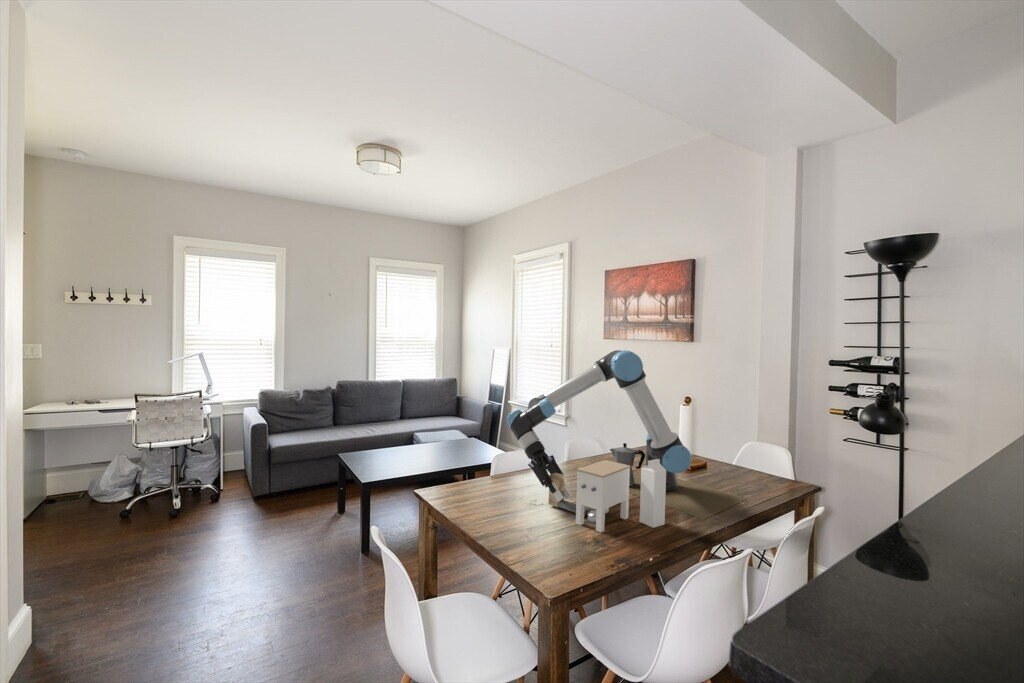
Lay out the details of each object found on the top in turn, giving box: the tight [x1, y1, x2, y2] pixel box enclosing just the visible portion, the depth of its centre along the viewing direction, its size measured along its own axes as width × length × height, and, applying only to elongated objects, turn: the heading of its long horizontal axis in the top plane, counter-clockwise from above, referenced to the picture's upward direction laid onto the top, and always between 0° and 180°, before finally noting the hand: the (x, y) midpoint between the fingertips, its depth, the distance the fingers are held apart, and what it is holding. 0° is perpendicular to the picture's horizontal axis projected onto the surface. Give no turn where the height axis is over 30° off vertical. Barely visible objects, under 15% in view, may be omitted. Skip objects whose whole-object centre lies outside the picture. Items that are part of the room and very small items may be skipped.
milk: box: [639, 459, 667, 529], centre depth 157 cm, size 6×6×22 cm
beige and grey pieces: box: [548, 473, 591, 517], centre depth 166 cm, size 4×16×11 cm, turn 47°
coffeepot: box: [609, 443, 646, 487], centre depth 200 cm, size 15×9×18 cm, turn 70°
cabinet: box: [575, 459, 631, 533], centre depth 158 cm, size 19×10×19 cm, turn 137°
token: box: [586, 509, 596, 524], centre depth 159 cm, size 6×6×2 cm
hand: (564, 498), depth 168 cm, fingers closed on beige and grey pieces, 4 cm apart
